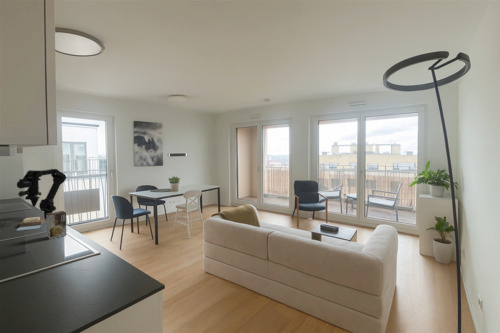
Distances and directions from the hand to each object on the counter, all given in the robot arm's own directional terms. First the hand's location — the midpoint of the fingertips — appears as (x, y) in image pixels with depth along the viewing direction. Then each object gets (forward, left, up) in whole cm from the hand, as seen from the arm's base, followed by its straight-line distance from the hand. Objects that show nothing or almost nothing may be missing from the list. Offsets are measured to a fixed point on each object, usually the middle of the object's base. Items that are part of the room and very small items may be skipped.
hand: (34, 206), depth 183 cm
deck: (+5, 0, -13) cm, 14 cm away
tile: (+8, 0, -10) cm, 12 cm away
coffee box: (+45, +19, -13) cm, 50 cm away
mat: (+16, 0, -13) cm, 20 cm away
